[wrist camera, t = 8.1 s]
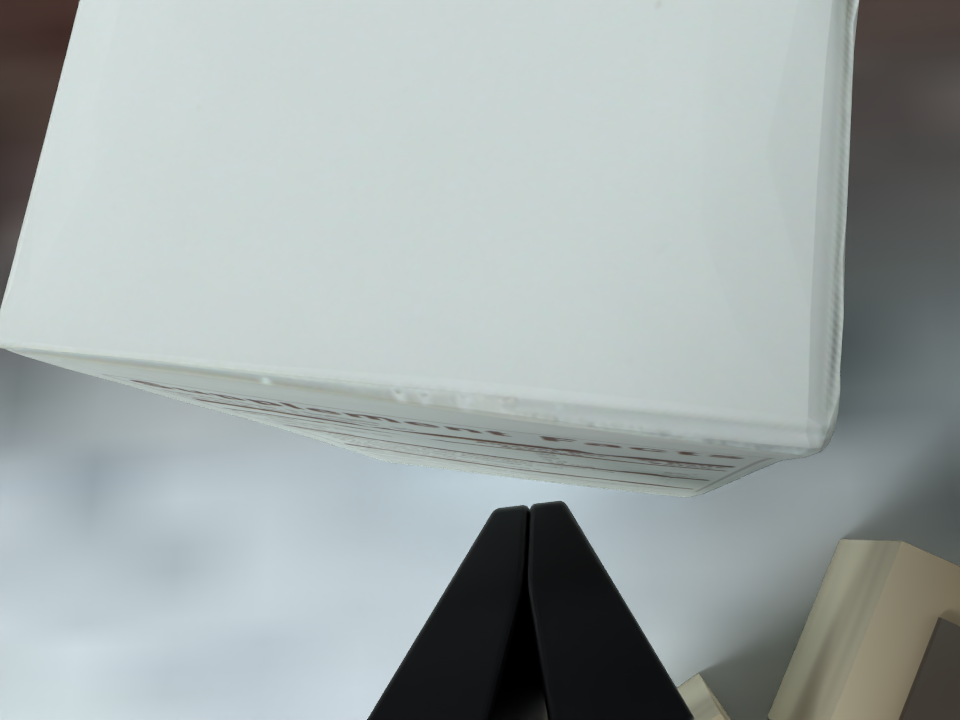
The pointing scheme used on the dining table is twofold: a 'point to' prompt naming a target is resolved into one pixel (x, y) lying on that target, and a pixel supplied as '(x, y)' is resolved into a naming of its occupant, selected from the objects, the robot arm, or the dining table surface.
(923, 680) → the marked block
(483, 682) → the robot arm
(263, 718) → the dining table surface
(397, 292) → the supplement box
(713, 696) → the marked block
